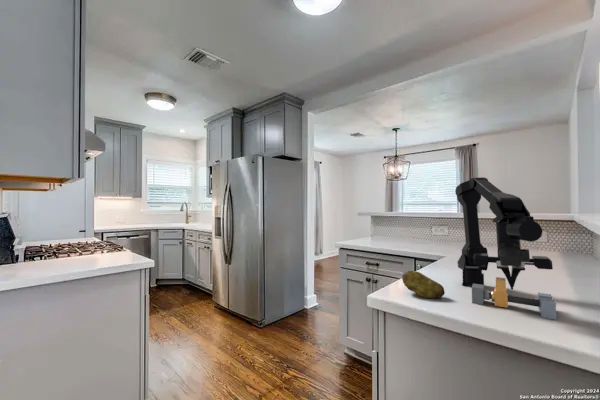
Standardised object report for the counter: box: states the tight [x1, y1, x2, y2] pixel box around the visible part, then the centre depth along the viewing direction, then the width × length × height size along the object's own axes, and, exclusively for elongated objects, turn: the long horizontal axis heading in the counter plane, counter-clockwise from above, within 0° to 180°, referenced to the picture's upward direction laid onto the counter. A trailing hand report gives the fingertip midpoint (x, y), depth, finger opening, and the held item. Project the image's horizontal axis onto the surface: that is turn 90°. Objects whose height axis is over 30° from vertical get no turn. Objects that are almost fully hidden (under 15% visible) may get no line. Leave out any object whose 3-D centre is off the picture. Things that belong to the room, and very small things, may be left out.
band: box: [490, 290, 495, 303], centre depth 86 cm, size 1×3×3 cm, turn 144°
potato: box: [401, 270, 446, 299], centre depth 95 cm, size 8×13×8 cm, turn 38°
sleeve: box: [493, 276, 509, 308], centre depth 85 cm, size 3×4×8 cm
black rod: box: [489, 291, 540, 308], centre depth 84 cm, size 14×2×2 cm, turn 54°
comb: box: [537, 291, 557, 321], centre depth 79 cm, size 3×9×4 cm, turn 144°
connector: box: [471, 284, 490, 306], centre depth 88 cm, size 4×5×5 cm
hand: (511, 289), depth 83 cm, fingers closed
